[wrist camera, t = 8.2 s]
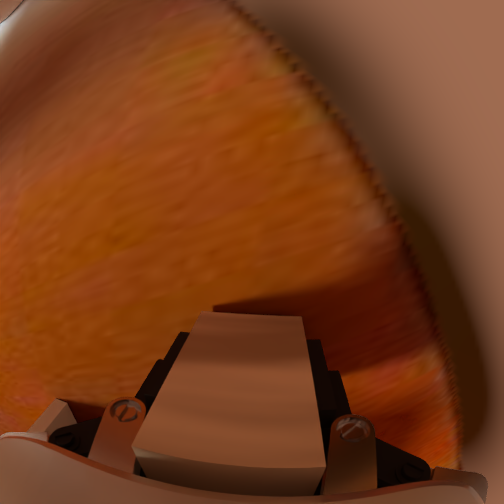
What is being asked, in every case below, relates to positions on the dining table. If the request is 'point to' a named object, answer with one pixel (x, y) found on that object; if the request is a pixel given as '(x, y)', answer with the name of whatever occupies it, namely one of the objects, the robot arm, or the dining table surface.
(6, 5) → the milk bottle
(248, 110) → the dining table surface
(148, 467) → the tool
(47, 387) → the dining table surface
